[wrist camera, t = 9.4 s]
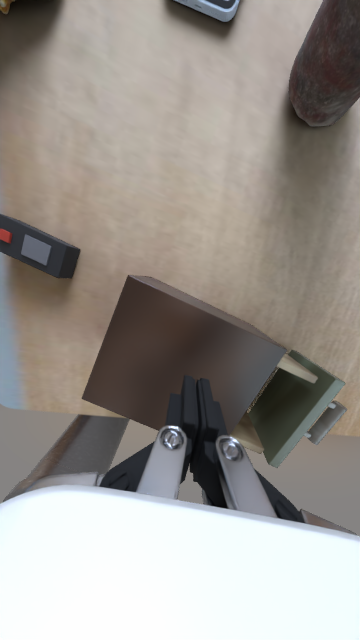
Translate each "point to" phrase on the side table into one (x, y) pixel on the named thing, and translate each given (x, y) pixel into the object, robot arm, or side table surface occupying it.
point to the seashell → (5, 5)
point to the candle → (328, 64)
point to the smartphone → (214, 7)
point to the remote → (37, 248)
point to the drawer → (291, 409)
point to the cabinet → (176, 355)
